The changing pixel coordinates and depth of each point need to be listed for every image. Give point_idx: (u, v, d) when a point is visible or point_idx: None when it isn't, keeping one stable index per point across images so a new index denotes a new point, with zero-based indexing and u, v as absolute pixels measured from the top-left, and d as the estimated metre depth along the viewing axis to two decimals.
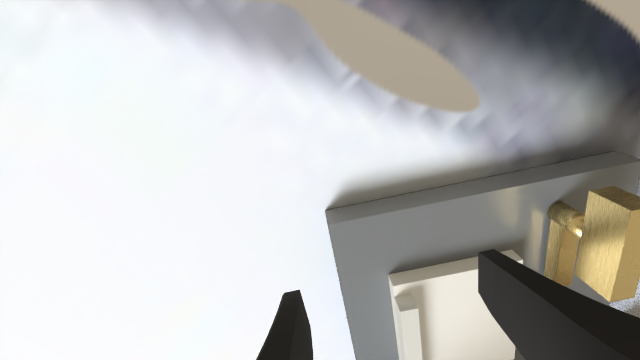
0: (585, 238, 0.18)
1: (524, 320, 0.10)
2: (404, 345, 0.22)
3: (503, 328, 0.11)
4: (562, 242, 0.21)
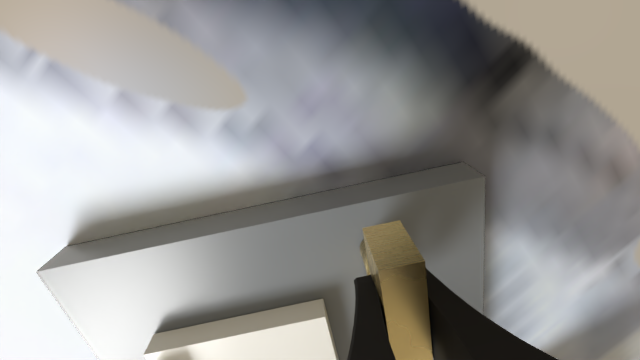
0: None
1: (437, 338, 0.10)
2: None
3: None
4: None
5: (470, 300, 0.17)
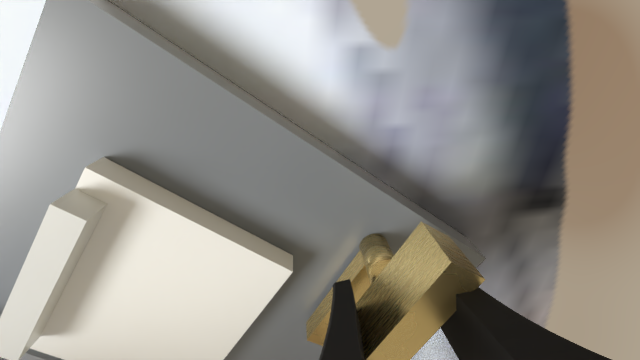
0: (376, 285, 0.12)
1: (462, 333, 0.10)
2: (22, 270, 0.11)
3: (449, 339, 0.11)
4: (351, 284, 0.14)
5: None
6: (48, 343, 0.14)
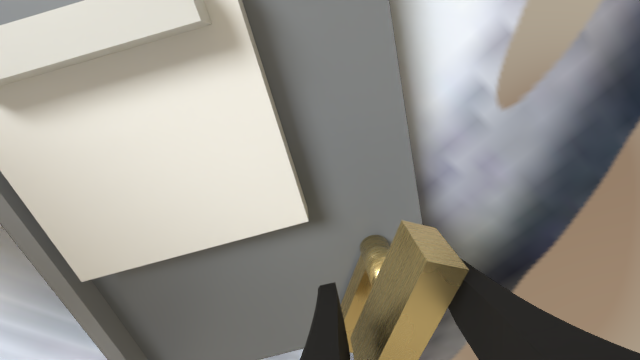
0: (375, 290, 0.12)
1: (481, 329, 0.10)
2: (68, 7, 0.08)
3: (465, 336, 0.11)
4: (359, 290, 0.14)
5: (304, 337, 0.17)
6: None
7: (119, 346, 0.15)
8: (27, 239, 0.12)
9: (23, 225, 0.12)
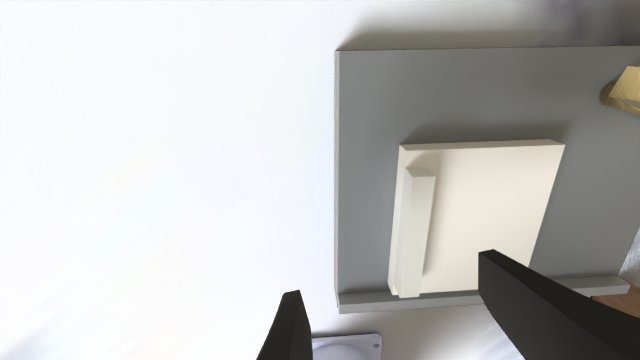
0: None
1: (524, 320, 0.10)
2: (407, 231, 0.17)
3: (503, 328, 0.11)
4: None
5: None
6: None
7: (573, 287, 0.22)
8: None
9: (475, 296, 0.22)
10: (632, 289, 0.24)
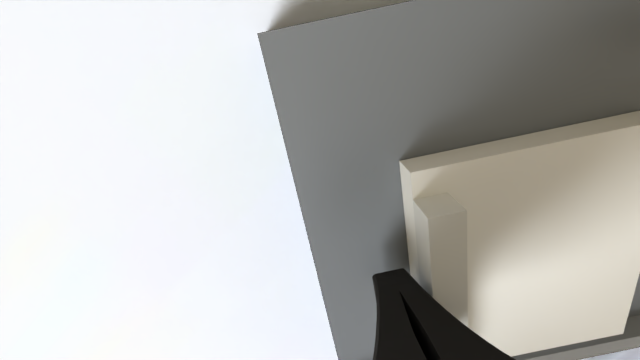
0: None
1: None
2: None
3: None
4: None
5: None
6: None
7: None
8: (556, 357, 0.15)
9: (543, 356, 0.15)
10: None
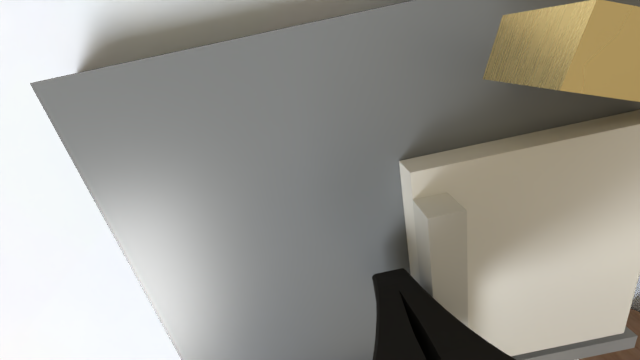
0: None
1: None
2: None
3: None
4: None
5: None
6: None
7: (546, 351, 0.15)
8: None
9: None
10: None
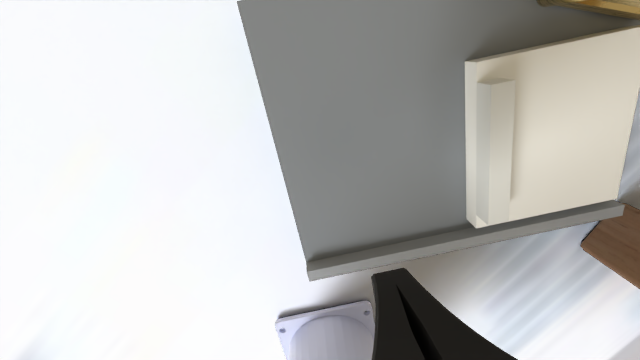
0: None
1: (417, 342, 0.10)
2: (490, 148, 0.16)
3: None
4: (595, 3, 0.15)
5: None
6: None
7: (558, 217, 0.20)
8: (459, 243, 0.20)
9: (449, 242, 0.20)
10: (633, 212, 0.22)
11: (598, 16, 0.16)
